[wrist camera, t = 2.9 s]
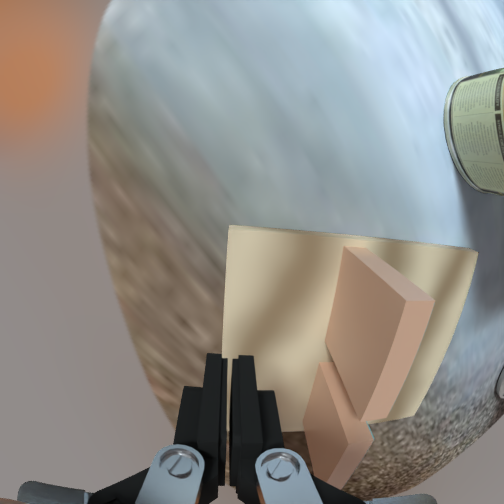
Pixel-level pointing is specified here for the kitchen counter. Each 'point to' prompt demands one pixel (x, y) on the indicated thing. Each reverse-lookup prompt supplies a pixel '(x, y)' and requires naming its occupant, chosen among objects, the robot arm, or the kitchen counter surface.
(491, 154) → the coffee can
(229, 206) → the kitchen counter surface
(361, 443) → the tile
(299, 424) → the board
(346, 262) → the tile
